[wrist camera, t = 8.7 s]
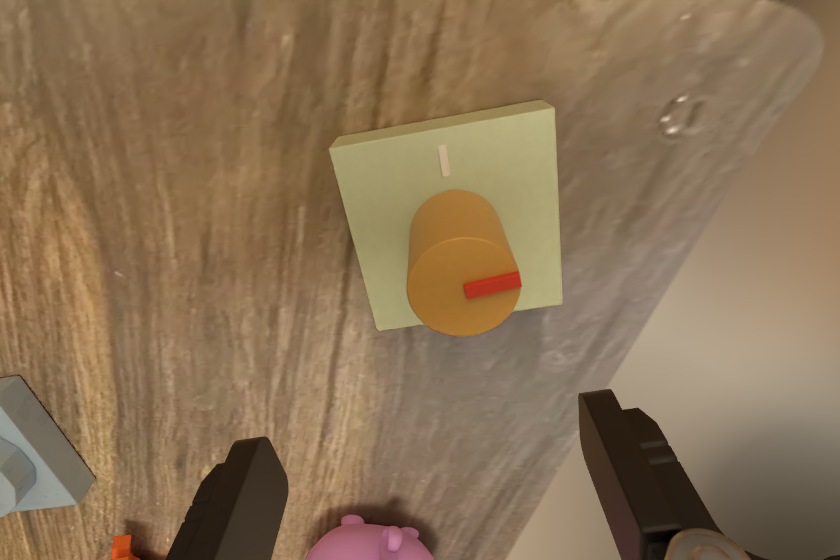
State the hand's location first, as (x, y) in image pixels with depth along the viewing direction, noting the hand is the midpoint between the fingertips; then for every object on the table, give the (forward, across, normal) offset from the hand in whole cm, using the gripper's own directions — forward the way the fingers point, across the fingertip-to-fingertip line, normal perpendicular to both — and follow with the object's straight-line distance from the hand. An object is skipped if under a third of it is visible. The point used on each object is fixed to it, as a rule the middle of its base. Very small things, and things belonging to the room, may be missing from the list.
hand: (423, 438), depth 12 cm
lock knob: (+13, -2, 0) cm, 13 cm away
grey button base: (+15, +32, +11) cm, 37 cm away
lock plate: (+15, -2, 0) cm, 15 cm away
